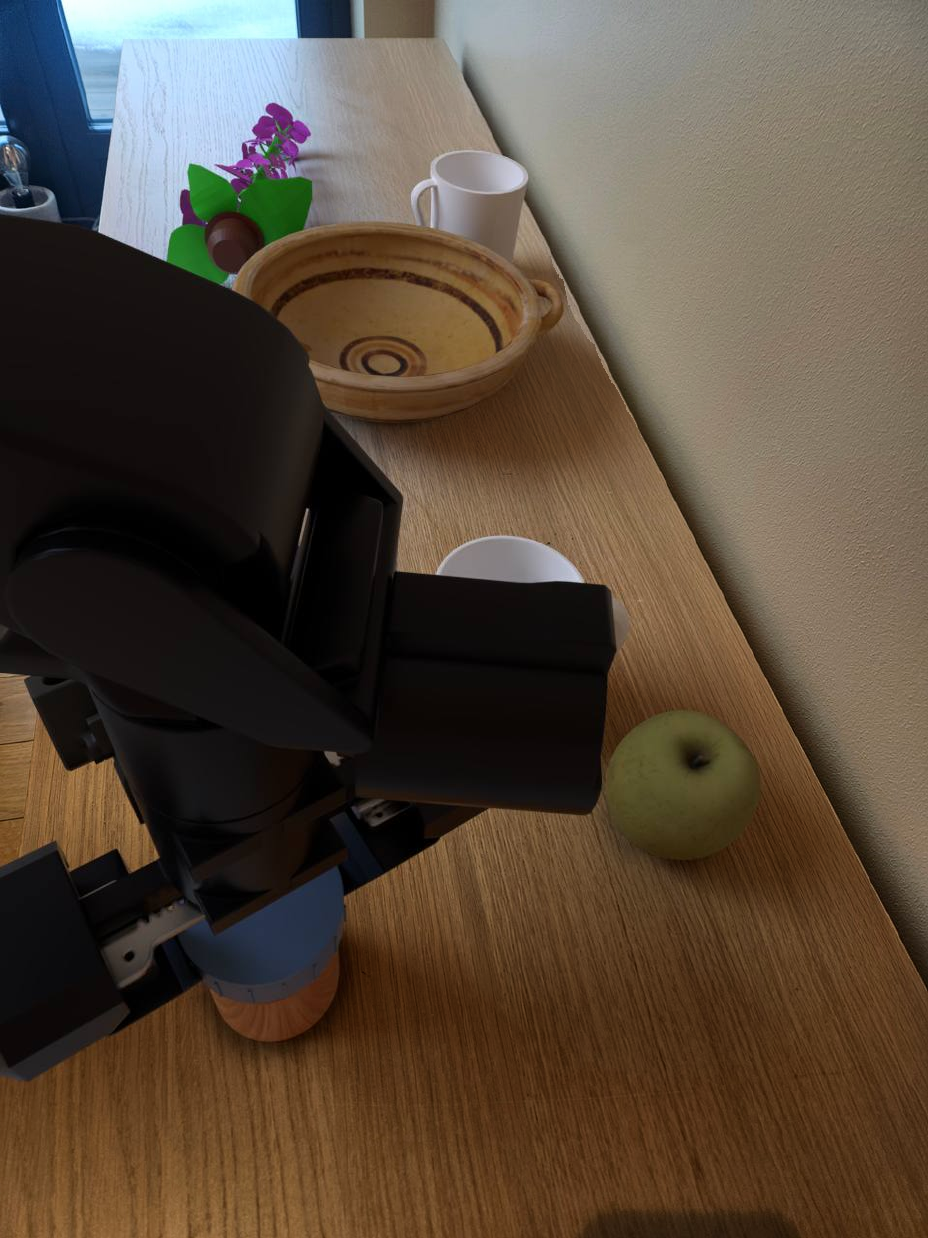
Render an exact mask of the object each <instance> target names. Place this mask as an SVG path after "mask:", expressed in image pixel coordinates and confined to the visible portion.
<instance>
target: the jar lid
mask: <svg viewBox="0 0 928 1238" xmlns="http://www.w3.org/2000/svg"><path fill="white" fill-rule="evenodd" d="M179 903H180V904H183V903H184V899H183V900H181V901H179ZM345 923H347V904H345V896H344V887H343V881H342V876H341V873H340V870H339V867H338V865H337V866H336V867H334V868H332V869H330V870H329V871H327V872H325V873H324V874H322V875H320V876H318V877H317V878H315V879H313V880H311V881H310V882H308V883H306V884H304V885H303V886H301V887H299V888H297V889H296V890H294V891H292V892H291V893H289V894H287V895H285V896H284V897H282V898H280V899H278V900H277V901H275V902H273V903H271V904H270V905H268V906H266V907H264V908H263V909H261V910H259V911H258V912H256V913H254V914H252V915H251V916H249V917H247V918H245V919H244V920H242V921H240V922H238V923H237V924H235V925H233V926H231V927H230V928H228V929H226V930H224V931H223V932H221V933H219V934H218V935H216V936H214V935H213V933H212V931H211V929H210V927H209V925H208V923H207V921H206V919H203V920H201V921H200V922H198V923H196V924H194V925H192V926H191V927H189V928H187V929H185V930H184V931H182V932H180V933H178V934H177V937H178V940H179V942H180V945H181V947H182V949H183V951H184V952H185V954H186V956H187V958H188V959H189V961H190V964H191V965H192V966H193V967H194V968H195V970H196V972H197V973H198V974H199V976H200V977H201V978H202V981H201V982H202V984H203V985H205V986H206V987H207V988H208V989H209V988H210V989H211V990H213V991H214V992H216V993H217V994H218V995H219V997H222V996H224V997H226V998H229V999H232V1000H235V1001H240V1002H247V1003H251V1004H252V1005H254V1003H261V1002H270V1001H274V1000H278V999H281V998H284V997H285V998H288V996H289V995H292V994H294V993H295V992H297V991H299V990H301V989H303V988H304V987H305V986H307V985H308V984H309V983H311V982H312V981H313V980H314V979H315V980H317V979H318V976H319V975H320V974H321V972H322V971H323V970H324V969H325V968H326V967H327V965H328V964H329V962H330V961H331V959H332V958H333V956H334V954H335V952H336V953H337V952H338V953H339V945H340V943H341V940H342V937H343V932H344V927H345Z"/></svg>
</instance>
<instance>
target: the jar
mask: <svg viewBox="0 0 928 1238" xmlns="http://www.w3.org/2000/svg"><path fill="white" fill-rule="evenodd" d="M339 955H340V954H339V951H338V952H337V953H336V952H335V954H334V956H333V958H332V959H331V961H330V962H329V964H328V965H327V967H326V968H325V969H324V970H323V971H322V972H321V974H320V975H319V976H318V979H317V980H315V979H314V980H313V981H312V982H311V983H309V984H308V985H307V986H305V987H304V988H303V989H301V990H299V991H297V992H295V993H294V994H292V995H289V996H288V998H285V997H284V998H281V999H278V1000H274V1001H270V1002H261V1003H254V1005H252V1004H251V1003H247V1002H240V1001H235V1000H232V999H229V998H226V997H224V996H222V997H219V995H218V994H217V993H216V992H214V991H213V990H211V989H210V988H208V989H209V993H210V995H211V996H212V999H213V1001H214V1003H215V1006H216V1008H217V1010H218V1012H219V1014H220V1016H221V1018H222V1019H223V1020H224V1021H225V1023H226V1024H227V1025H228V1026H229V1027H230V1028H231V1029H232V1030H233V1031H234V1032H236V1033H238V1034H239V1035H241V1036H243V1037H245V1038H247V1039H250V1040H254V1041H257V1042H264V1043H267V1042H269V1043H270V1042H271V1043H273V1042H281V1041H285V1040H289V1039H292V1038H295V1037H297V1036H300V1035H301V1034H302V1033H305V1032H306V1031H308V1030H309V1029H310V1028H311V1027H313V1026H314V1025H315V1024H317V1023H318V1021H320V1020H321V1018H323V1016H324V1015H325V1014H326V1012H327V1010H328V1009H329V1007H330V1006H331V1004H332V1002H333V1000H334V998H335V996H336V992H337V989H338V986H339V980H340V959H339Z"/></svg>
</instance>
